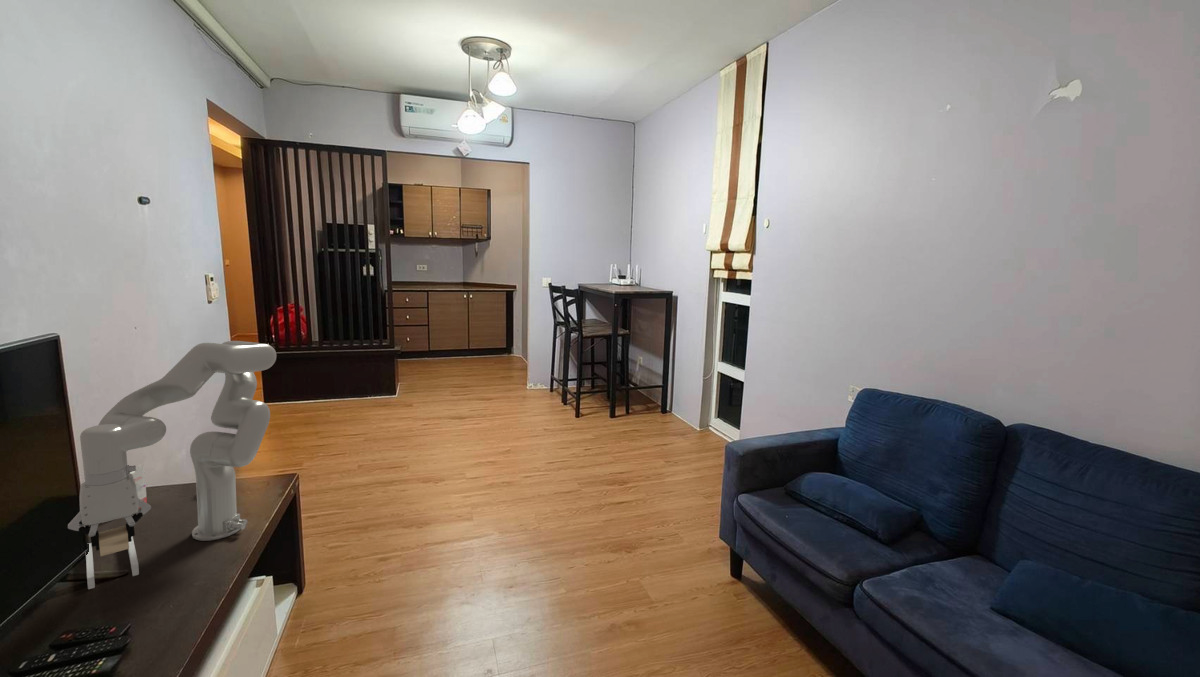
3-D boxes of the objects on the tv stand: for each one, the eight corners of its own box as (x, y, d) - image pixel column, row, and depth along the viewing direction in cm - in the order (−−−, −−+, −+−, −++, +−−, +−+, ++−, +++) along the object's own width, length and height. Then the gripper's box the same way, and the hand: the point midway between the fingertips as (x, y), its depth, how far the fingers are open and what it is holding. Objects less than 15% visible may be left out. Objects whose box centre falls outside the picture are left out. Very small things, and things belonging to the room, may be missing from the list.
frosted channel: (86, 554, 137) (85, 544, 137) (132, 542, 144) (131, 532, 144) (88, 589, 124) (87, 578, 123) (139, 574, 131) (138, 564, 130)
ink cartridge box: (133, 503, 165) (130, 461, 163) (147, 504, 165) (145, 462, 163) (107, 516, 157) (103, 472, 154) (122, 517, 157) (119, 473, 154)
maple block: (99, 547, 122) (98, 532, 121) (127, 539, 126) (126, 525, 125) (100, 556, 119) (98, 541, 118) (129, 548, 122) (127, 533, 122)
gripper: (152, 461, 129) (157, 525, 132) (55, 479, 116) (63, 550, 119) (155, 471, 124) (161, 537, 127) (54, 491, 111) (63, 564, 114)
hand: (113, 542), depth 123 cm, fingers closed on maple block, 5 cm apart
